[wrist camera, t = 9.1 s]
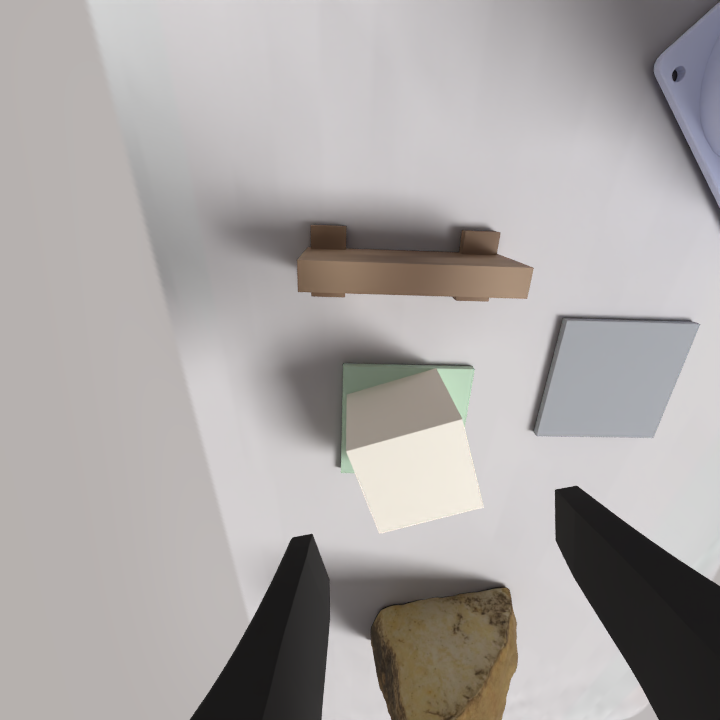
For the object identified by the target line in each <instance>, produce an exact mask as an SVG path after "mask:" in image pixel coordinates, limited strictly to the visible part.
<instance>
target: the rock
mask: <svg viewBox="0 0 720 720" xmlns="http://www.w3.org/2000/svg"><path fill="white" fill-rule="evenodd" d="M516 626H517V622H516V618H515V615H514V612H513V607H512V600H511V594H510V590H509V589H508V588H496V589H490V590H487V591H480V592H472V593H464V594H458V595H456V596H448V597H444V598H439V597H436V598H429V599H426V600H418V601H415V602H411V603H407V604H405V605H394V606H390V607H387V608H385V609H382V610H381V611H380V613H379V614H378V615H377V617H376V619H375V621H374V623H373V625H372V628H371V646H372V648H373V655H374V661H375V666H376V673H377V677H378V682H379V687H380V690H381V691H382V693H383V696H384V699H385V701H386V704H387V708H388V712H389V714H390V716H391V720H502V715H503V712H504V709H505V705H506V696H507V693H508V690H509V685H510V680H511V678H512V676H513V674H514V673H515V671H516V668H517V662H518V653H517V644H516V639H517V634H516Z"/></svg>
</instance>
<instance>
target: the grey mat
mask: <svg viewBox="0 0 720 720" xmlns="http://www.w3.org/2000/svg"><path fill="white" fill-rule="evenodd" d="M699 326H700V324H698V323H696V322H683V321H647V320H611V319H575V318H563V321H562V325H561V329H560V332H559V336H558V340H557V344H556V348H555V352H554V356H553V359H552V363H551V367H550V371H549V375H548V379H547V383H546V386H545V390H544V394H543V398H542V402H541V406H540V409H539V413H538V417H537V421H536V425H535V429H534V433H535V435H536V436H561V437H628V438H654V435H655V433H656V430H657V428H658V425H659V423H660V421H661V418H662V416H663V413H664V411H665V408H666V406H667V404H668V401H669V399H670V396H671V394H672V391H673V389H674V387H675V384H676V382H677V379H678V377H679V374H680V372H681V370H682V367H683V365H684V362H685V360H686V357H687V355H688V353H689V350H690V348H691V345H692V343H693V340H694V338H695V336H696V333H697V331H698V328H699Z"/></svg>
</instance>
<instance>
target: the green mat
mask: <svg viewBox="0 0 720 720" xmlns="http://www.w3.org/2000/svg"><path fill="white" fill-rule="evenodd" d="M435 368H436V369H437V371H438V372H439V374H440V376H441V378H442V380H443V382H444V384H445V386H446V388H447V390H448V392H449V394H450V396H451V398H452V400H453V402H454V404H455V406H456V408H457V409H458V411H459V413H460V415H461V417H462V419H463V424H464V428H465V422H466V417H467V411H468V405H469V399H470V393H471V388H472V382H473V376H474V370H475V369H474V368H473V366H441V365H396V364H351V363H343V394H342V442H341V473H355V472H354V470H353V467H352V465H351V462H350V460H349V457H348V455H347V452H346V410H347V394H350V393H353V392H357V391H360V390H363V389H367V388H370V387H374V386H377V385H380V384H384V383H387V382H391V381H394V380H397V379H401V378H404V377H408V376H411V375H414V374H418V373H421V372H425V371H428V370H432V369H435Z"/></svg>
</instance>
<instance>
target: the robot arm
mask: <svg viewBox="0 0 720 720" xmlns="http://www.w3.org/2000/svg"><path fill="white" fill-rule="evenodd" d="M674 70H676V71H677V74H678V76H677V79H676V81H675V82H674V81H673V80H672V73H673V71H674ZM654 74H655V77H656V79H657V81H658V83H659V85H660V87H661V89H662V91H663V93H664V95H665V97H666V99H667V101H668V103H669V106H670V108H671V110H672V112H673V114H674V116H675V118H676V120H677V122H678V124H679V126H680V128H681V130H682V132H683V134H684V136H685V138H686V140H687V142H688V144H689V146H690V148H691V150H692V152H693V155H694V157H695V159H696V161H697V163H698V165H699V167H700V169H701V171H702V173H703V175H704V177H705V179H706V181H707V183H708V185H709V187H710V189H711V191H712V193H713V195H714V197H715V199H716V201H717V204H718V206H719V208H720V2H719V3H717V4H716V5H715V6H714V7H713V8H712V9H711V10H710V11H709V12H707V13H706V14H705V15H704V16H703V17H702V18H701V19H700V20H698V21H697V22H696V23H695V24H694V25H693V26H692V27H691V28H690V29H688V30H687V31H686V32H685V33H684V34H683V35H682V36H681V37H680V38H678V39H677V40H676V41H675V42H674V43H673V44H672V45H671V46H670V47H668V48H667V49H666V50H665V51H664V52H663V53H662V54H661V55H660V56H659V57H658V58H657V60H656V62H655V65H654ZM555 530H556V542H557V544H558V546H559V548H560V550H561V552H562V555H563V557H564V559H565V561H566V563H567V565H568V567H569V569H570V571H571V573H572V575H573V577H574V578H575V580H576V582H577V583H578V585H579V587H580V588H581V590H582V591H583V593H584V595H585V596H586V598H587V599H588V601H589V603H590V604H591V606H592V608H593V609H594V611H595V612H596V614H597V615H598V617H599V619H600V620H601V622H602V623H603V625H604V627H605V628H606V630H607V631H608V633H609V635H610V636H611V638H612V639H613V641H614V643H615V644H616V646H617V647H618V649H619V650H620V652H621V654H622V655H623V657H624V658H625V660H626V662H627V663H628V665H629V666H630V668H631V670H632V672H633V673H634V675H635V677H636V678H637V680H638V682H639V684H640V685H641V687H642V689H643V691H644V693H645V694H646V696H647V698H648V700H649V702H650V704H651V706H652V708H653V710H654V711H655V713H656V715H657V717H658V719H659V720H720V586H719V585H717V584H716V583H714V582H712V581H711V580H709V579H708V578H706V577H704V576H703V575H701V574H700V573H698V572H697V571H695V570H694V569H692V568H691V567H689V566H688V565H686V564H684V563H683V562H681V561H680V560H678V559H677V558H675V557H674V556H672V555H671V554H670V553H668V552H667V551H665V550H664V549H662V548H661V547H659V546H658V545H657V544H655V543H654V542H652V541H651V540H649V539H648V538H647V537H645V536H644V535H642V534H641V533H639V532H638V531H637V530H635V529H634V528H633V527H631V526H630V525H628V524H627V523H626V522H624V521H623V520H622V519H620V518H619V517H618V516H616V515H615V514H614V513H612V512H611V511H610V510H608V509H607V508H606V507H604V506H603V505H602V504H600V503H599V502H598V501H596V500H595V499H594V498H592V497H591V496H590V495H589V494H587V493H586V492H585V491H583V490H582V489H581V488H579V487H578V486H573V487H567V488H562V489H556V490H555ZM329 623H330V587H329V577H328V575H327V572H326V569H325V566H324V564H323V561H322V558H321V556H320V553H319V550H318V547H317V545H316V542H315V539H314V537H313V534H309V535H303V536H298V537H293V538H292V539H291V541H290V543H289V545H288V547H287V550H286V552H285V554H284V556H283V558H282V561H281V563H280V565H279V567H278V569H277V571H276V573H275V576H274V578H273V580H272V582H271V584H270V586H269V588H268V590H267V592H266V594H265V596H264V598H263V600H262V602H261V604H260V606H259V608H258V610H257V612H256V613H255V615H254V617H253V619H252V621H251V623H250V624H249V626H248V628H247V630H246V632H245V633H244V635H243V637H242V639H241V640H240V642H239V644H238V646H237V648H236V649H235V651H234V653H233V654H232V656H231V658H230V659H229V661H228V663H227V664H226V666H225V667H224V669H223V671H222V672H221V674H220V675H219V677H218V679H217V680H216V682H215V683H214V685H213V686H212V688H211V690H210V691H209V693H208V694H207V696H206V697H205V699H204V700H203V702H202V703H201V704H200V706H199V707H198V709H197V710H196V711H195V713H194V714H193V716H192V717H191V719H190V720H321V718H322V705H323V693H324V682H325V670H326V659H327V648H328V636H329Z"/></svg>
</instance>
